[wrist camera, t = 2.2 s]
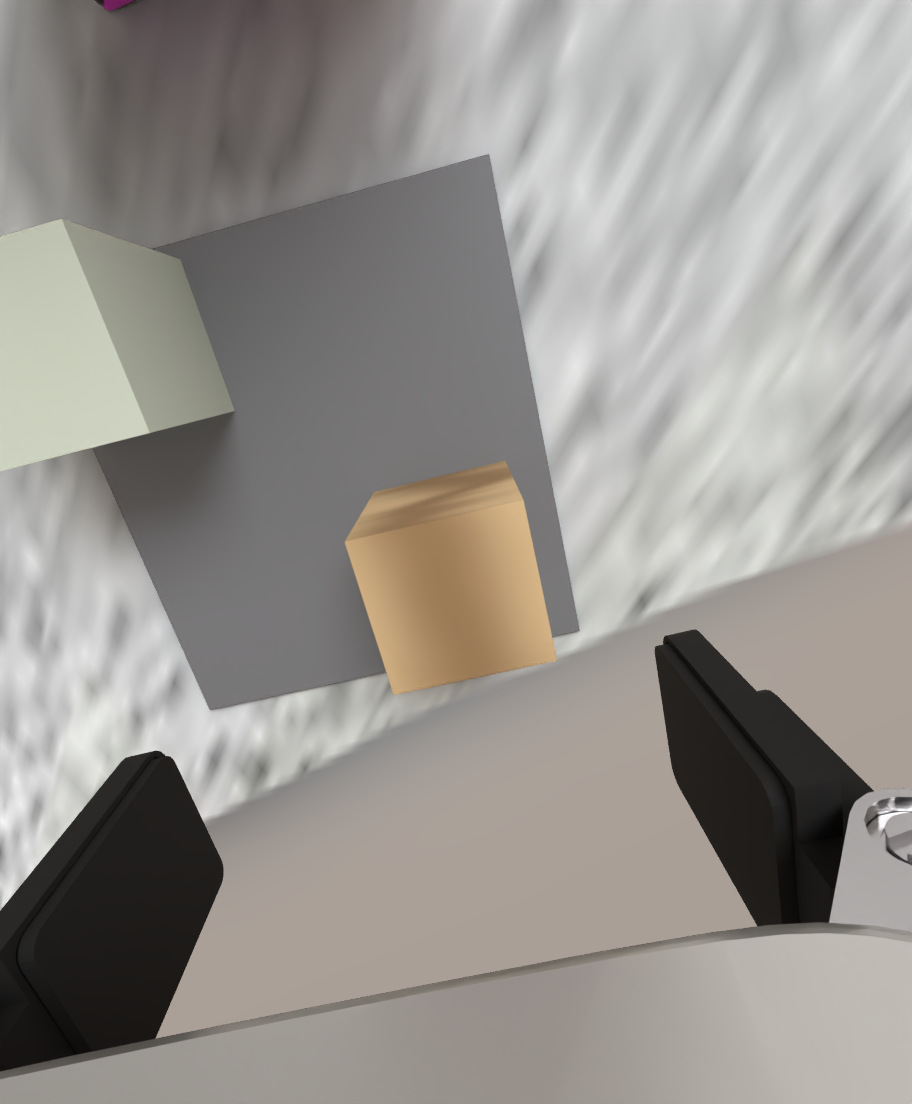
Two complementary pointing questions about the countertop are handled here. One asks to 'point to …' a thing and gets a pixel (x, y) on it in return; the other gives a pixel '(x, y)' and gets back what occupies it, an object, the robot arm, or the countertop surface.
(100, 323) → the sage block
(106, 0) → the candy bar box
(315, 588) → the mat
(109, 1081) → the robot arm
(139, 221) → the countertop surface
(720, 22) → the countertop surface
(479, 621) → the oak block
